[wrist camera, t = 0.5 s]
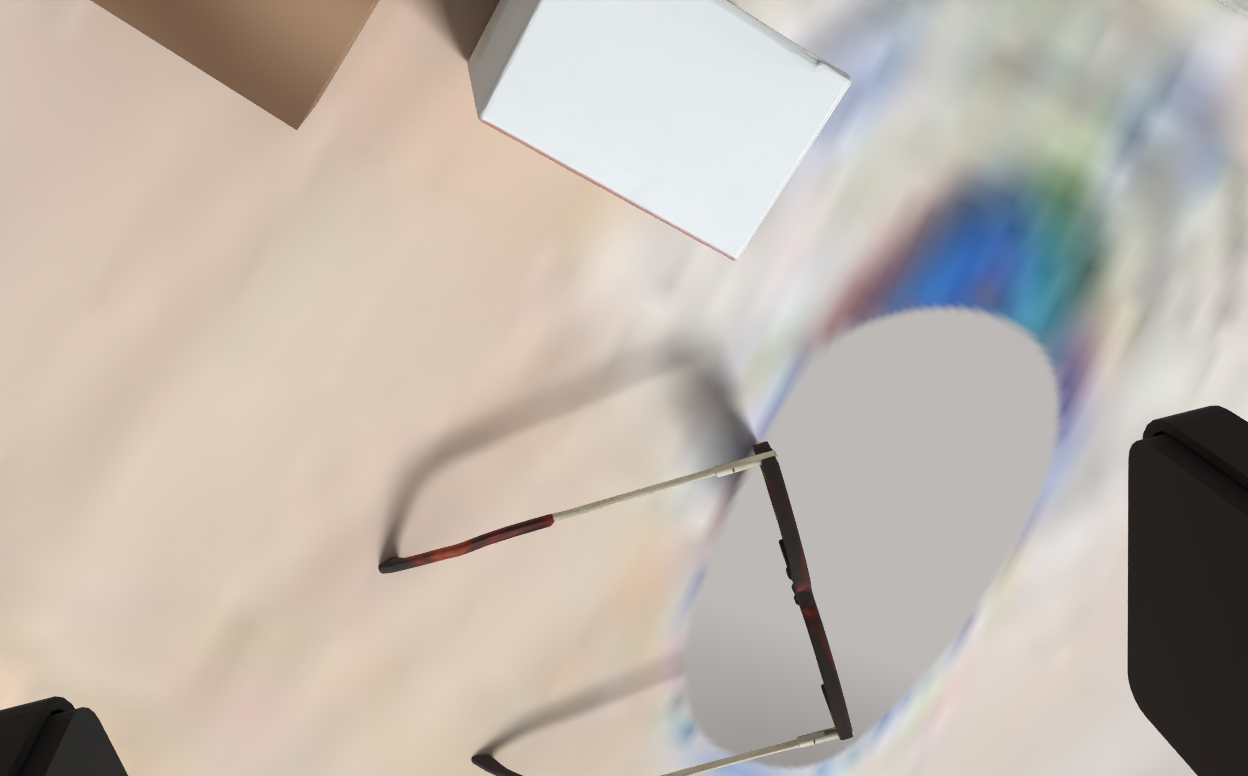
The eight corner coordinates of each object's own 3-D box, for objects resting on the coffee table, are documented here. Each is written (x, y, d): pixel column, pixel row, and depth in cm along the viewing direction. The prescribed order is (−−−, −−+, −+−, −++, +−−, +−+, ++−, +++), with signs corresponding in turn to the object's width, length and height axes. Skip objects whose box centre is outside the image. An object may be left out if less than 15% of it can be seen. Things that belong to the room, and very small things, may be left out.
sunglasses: (826, 664, 48) (857, 744, 43) (485, 764, 49) (481, 853, 44) (752, 399, 42) (779, 460, 38) (367, 518, 43) (348, 591, 39)
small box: (463, 64, 35) (466, 117, 26) (547, -96, 34) (582, -102, 24) (667, 182, 38) (738, 270, 28) (753, 38, 36) (859, 80, 27)
